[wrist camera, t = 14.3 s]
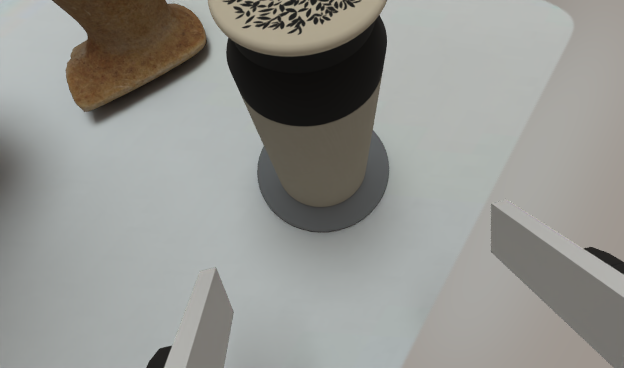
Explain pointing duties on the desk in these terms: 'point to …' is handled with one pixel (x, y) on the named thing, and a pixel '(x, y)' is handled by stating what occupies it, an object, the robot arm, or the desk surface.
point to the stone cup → (127, 46)
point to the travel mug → (309, 86)
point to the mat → (331, 215)
